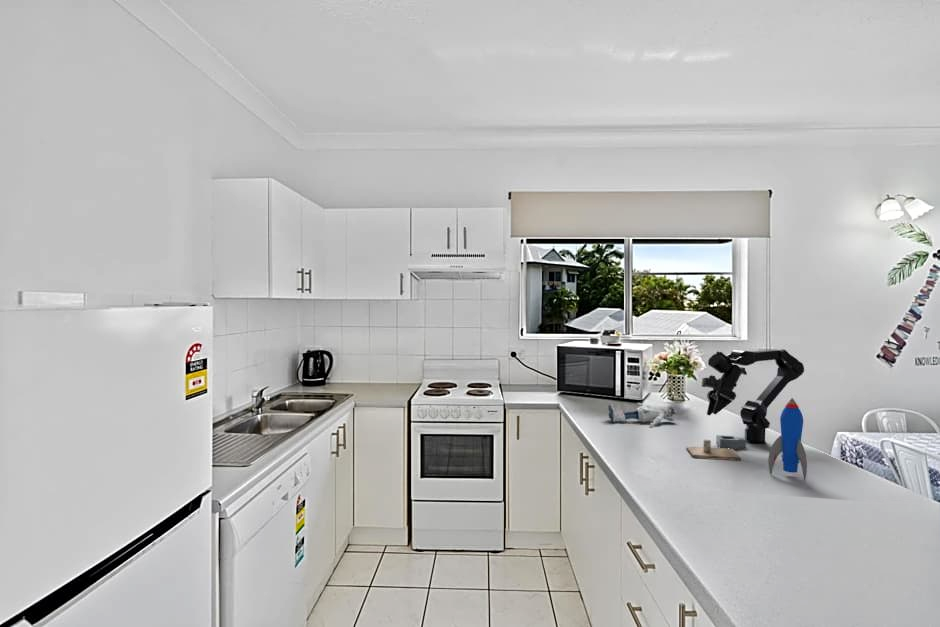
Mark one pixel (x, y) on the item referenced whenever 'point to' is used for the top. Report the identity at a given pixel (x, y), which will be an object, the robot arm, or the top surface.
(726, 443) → the link
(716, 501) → the top surface
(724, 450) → the board
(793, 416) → the toy rocket
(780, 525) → the top surface
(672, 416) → the toy
